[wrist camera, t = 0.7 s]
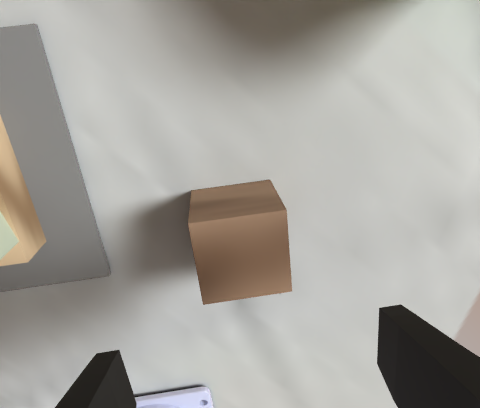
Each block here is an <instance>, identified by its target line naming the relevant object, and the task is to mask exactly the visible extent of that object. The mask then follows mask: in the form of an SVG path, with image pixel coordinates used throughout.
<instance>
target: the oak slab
mask: <svg viewBox="0 0 480 408" xmlns="http://www.w3.org/2000/svg"><path fill="white" fill-rule="evenodd" d="M0 211H1V213H2V215H3V216H4V218H5V219H6V221H7V223H8V224H9V226H10V228H11V229H12V231H13V232H14V234H15V236H16V237H17V239H18V240H19V242H18V243H17V244H16V245H15V246H14V247H13V248H12V249H11V250H10V251H9V252H8V253H7V254H6V255H5V256H4V257H3V258H2V259H1V260H0V266H6V265H13V264H20V263H27V262H29V261H30V260H31V258H32V257H33V256H34V255H35V254H36V253H37V252H38V250H39V249H40V248H41V247H42V246H43V245H44V244H45V242H46V238H45V235H44V233H43V230H42V227H41V225H40V222H39V219H38V216H37V214H36V211H35V208H34V205H33V203H32V200H31V197H30V195H29V192H28V189H27V186H26V184H25V181H24V178H23V175H22V173H21V170H20V167H19V164H18V162H17V159H16V156H15V154H14V151H13V148H12V145H11V143H10V140H9V137H8V134H7V132H6V129H5V126H4V123H3V121H2V118H1V115H0Z"/></svg>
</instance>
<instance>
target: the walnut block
mask: <svg viewBox="0 0 480 408" xmlns="http://www.w3.org/2000/svg"><path fill="white" fill-rule="evenodd" d="M188 227H189V232H190V237H191V243H192V248H193V253H194V259H195V264H196V269H197V275H198V280H199V285H200V291H201V296H202V301H203V305H205V304H211V303H218V302H224V301H231V300H238V299H244V298H251V297H257V296H264V295H271V294H277V293H284V292H290V291H292V283H291V268H290V254H289V239H288V224H287V210H286V208H285V206H284V204H283V202H282V201H281V199H280V197H279V195H278V193H277V191H276V190H275V188H274V186H273V184H272V182H271V181H270V180H264V181H257V182H249V183H242V184H235V185H227V186H220V187H213V188H205V189H198V190H191V199H190V209H189V218H188Z"/></svg>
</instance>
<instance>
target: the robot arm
mask: <svg viewBox="0 0 480 408" xmlns="http://www.w3.org/2000/svg"><path fill="white" fill-rule="evenodd" d="M377 364H378V366H379V369H380V371H381V373H382V375H383V378H384V380H385V382H386V385H387V387H388V389H389V391H390V393H391V395H392V398H393V400H394V402H395V403H396V405H397V407H398V408H480V357H478V356H477V355H475V354H474V353H472V352H470V351H469V350H467V349H466V348H464V347H463V346H461V345H459V344H458V343H457V342H455V341H454V340H452V339H451V338H449V337H448V336H446V335H445V334H444V333H442V332H441V331H439V330H438V329H436V328H435V327H433V326H432V325H430V324H429V323H427V322H426V321H424V320H423V319H422V318H420V317H419V316H417V315H416V314H414V313H413V312H411V311H410V310H408V309H407V308H405V307H404V306H402V305H395V306H389V307H383V308H379V332H378V357H377ZM55 408H214V407H213V402H212V397H211V392H210V390H209V389H208V388H207V387H196V388H190V389H184V390H178V391H171V392H165V393H159V394H153V395H146V396H140V397H134V394H133V391H132V388H131V385H130V382H129V379H128V376H127V373H126V369H125V366H124V363H123V360H122V357H121V354H120V351H119V350H116V351H109V352H103V353H97V354H96V355H95V356H94V357H93V359H92V360H91V361H90V362H89V364H88V365H87V366H86V368H85V369H84V370H83V372H82V373H81V374H80V375H79V377H78V378H77V379H76V381H75V382H74V383H73V385H72V386H71V387H70V389H69V390H68V391H67V393H66V394H65V395H64V397H63V398H62V399H61V401H60V402H59V403H58V404H57V406H56V407H55Z"/></svg>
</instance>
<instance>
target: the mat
mask: <svg viewBox="0 0 480 408" xmlns="http://www.w3.org/2000/svg"><path fill="white" fill-rule="evenodd" d="M0 115H1V118H2V121H3V123H4V126H5V129H6V132H7V134H8V137H9V140H10V143H11V145H12V148H13V151H14V154H15V156H16V159H17V162H18V164H19V167H20V170H21V173H22V175H23V178H24V181H25V184H26V186H27V189H28V192H29V195H30V197H31V200H32V203H33V205H34V208H35V211H36V214H37V216H38V219H39V222H40V225H41V227H42V230H43V233H44V235H45V238H46V242H45V244H44V245H43V246H42V247H41V248H40V249H39V250H38V252H37V253H36V254H35V255H34V256H33V257H32V258H31V260H30V261H29V262H27V263H20V264H13V265H6V266H0V292H3V291H9V290H16V289H23V288H30V287H37V286H44V285H51V284H57V283H64V282H71V281H78V280H85V279H92V278H99V277H106V276H110V274H111V271H110V268H109V265H108V261H107V258H106V255H105V251H104V248H103V244H102V241H101V238H100V234H99V231H98V228H97V224H96V221H95V218H94V214H93V211H92V208H91V204H90V201H89V197H88V194H87V191H86V187H85V184H84V181H83V177H82V174H81V171H80V167H79V164H78V161H77V157H76V154H75V151H74V147H73V144H72V140H71V137H70V134H69V130H68V127H67V124H66V120H65V117H64V114H63V110H62V107H61V104H60V100H59V97H58V94H57V90H56V87H55V83H54V80H53V77H52V73H51V70H50V67H49V63H48V60H47V57H46V53H45V50H44V47H43V43H42V40H41V36H40V33H39V30H38V26H37V25H36V24H28V25H20V26H11V27H2V28H0Z"/></svg>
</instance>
